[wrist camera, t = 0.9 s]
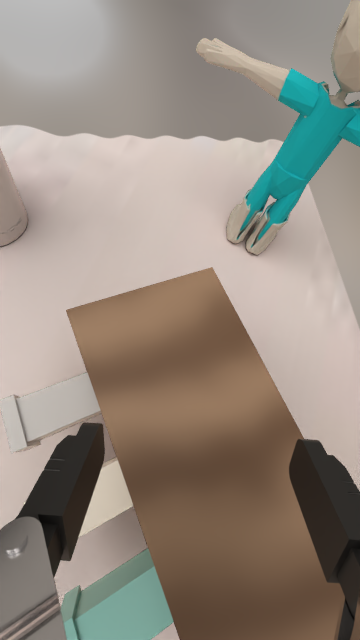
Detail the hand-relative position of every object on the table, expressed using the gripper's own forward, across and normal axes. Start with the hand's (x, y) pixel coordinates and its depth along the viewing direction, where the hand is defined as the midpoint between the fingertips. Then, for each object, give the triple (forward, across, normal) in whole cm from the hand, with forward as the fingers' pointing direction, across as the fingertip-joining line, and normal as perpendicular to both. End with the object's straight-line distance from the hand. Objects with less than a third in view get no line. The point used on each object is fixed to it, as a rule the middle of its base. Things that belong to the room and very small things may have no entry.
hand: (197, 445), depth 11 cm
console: (+15, +2, +16) cm, 22 cm away
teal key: (+2, +3, +17) cm, 17 cm away
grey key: (+10, +9, +7) cm, 16 cm away
